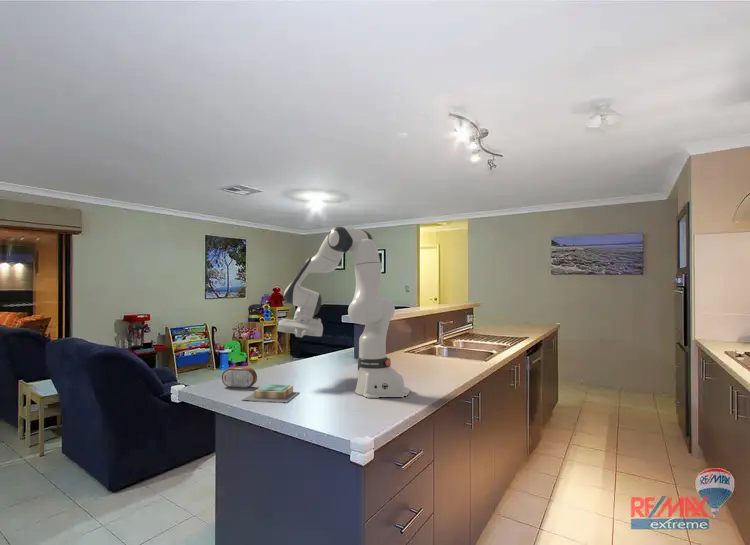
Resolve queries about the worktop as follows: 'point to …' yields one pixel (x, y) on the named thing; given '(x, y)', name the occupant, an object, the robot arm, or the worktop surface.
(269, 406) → the worktop surface
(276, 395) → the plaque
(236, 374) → the bluetooth speaker
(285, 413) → the worktop surface
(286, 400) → the mat
